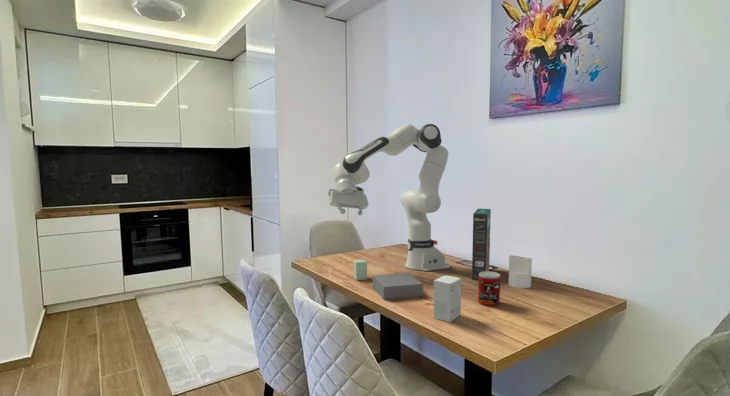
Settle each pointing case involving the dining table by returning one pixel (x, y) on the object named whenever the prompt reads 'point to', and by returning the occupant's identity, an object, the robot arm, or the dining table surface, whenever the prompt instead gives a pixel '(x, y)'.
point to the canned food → (489, 288)
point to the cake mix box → (481, 242)
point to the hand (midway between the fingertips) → (351, 213)
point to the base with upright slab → (520, 271)
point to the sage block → (360, 269)
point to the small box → (447, 298)
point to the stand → (397, 286)
